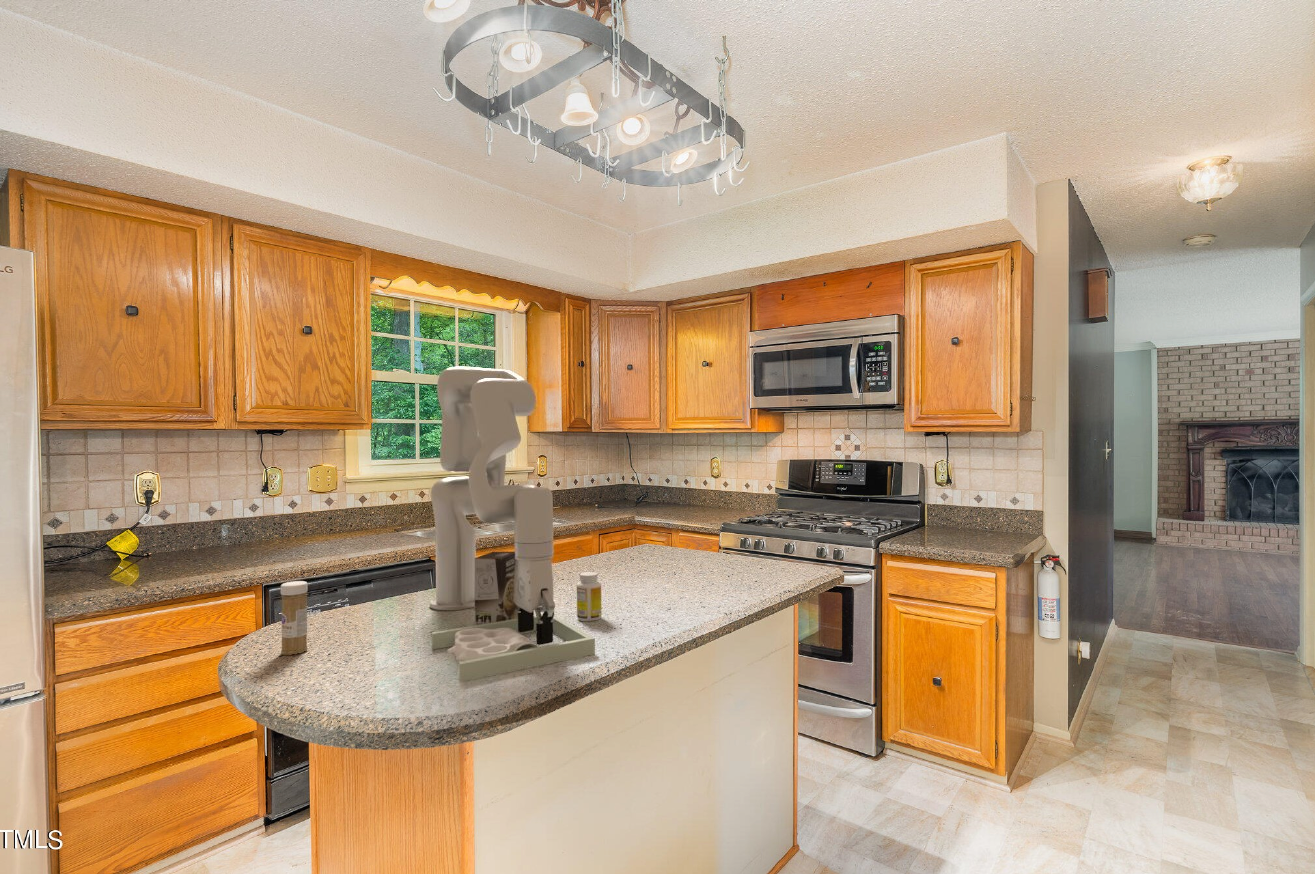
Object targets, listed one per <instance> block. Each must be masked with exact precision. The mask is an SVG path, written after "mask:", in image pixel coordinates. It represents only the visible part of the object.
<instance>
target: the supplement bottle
mask: <svg viewBox="0 0 1315 874" xmlns="http://www.w3.org/2000/svg"><path fill="white" fill-rule="evenodd" d="M602 615H603V614H602V583H601V582H600V581H599V579H598V572H595V571H585V572H581V573H580V574H579V581H578V582H577V584H576V617H577V619H578V621H581V620H582V621H583V622H595V621H597V620H601V618H602ZM594 620H595V621H594ZM582 621H581V622H582Z"/></svg>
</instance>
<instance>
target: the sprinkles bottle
mask: <svg viewBox="0 0 1315 874" xmlns="http://www.w3.org/2000/svg"><path fill="white" fill-rule="evenodd" d="M308 586H309V585H308V582H307V581H304V580H294V581H288V582H284V583H282V584H281V585H280V594H281V655H283V656H293V655H292V654H295V655H298V654H297V653H299V654H303V653H304V651H305V652H306V651H308V643H307V642H308V636H307V635H308V605H307V603H308V602H307V599H308V597H307V594H308V593H307V592H308Z"/></svg>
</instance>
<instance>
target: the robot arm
mask: <svg viewBox="0 0 1315 874" xmlns="http://www.w3.org/2000/svg"><path fill="white" fill-rule="evenodd" d="M436 384H437V385H436V392H437V393H436V394H437V399H438V401H439V402H438V403H439V407H440V410H441V411H440V412H441V430H440V432H441V433H440V446H439V447H440V450H439V453H440V454H439V457H440V458H439V460H440V465H441V467H442V469H443V470H444V471H445V472H448V473H456V474H458V473H459V474H460V473H468V476H467V475H465V476H451V477H445V478H441V479H439V480H437V481H436V482H435V483H434V484H433V485H432V486H431V491H430V499H431V506H432V512H433V518H434V528H435V529H434V530H435V533H434V534H435V598H432V599H431V600H429V607H430V608H431V609H434V610H437V611H438V610H439V611H459V610H460V611H461V610H465V609H471V608H475V558H477V554H476V553H477V552H476V551H477V549H476V548H477V547H476V545H477V544H476V543H477V542H476V541H477V540H476V539H477V538H476V531H475V529H474V526H473V525H472V524H471V523H470V522H469V520H468V519H467V517H466V516H469V515H476V517H477V518H478V519H479V520H480V522H482V523H486V524H500V523H501V524H502V523H507V522H508V523H509V522H514V523H513V524H514V525H513V532H514V533H513V534H514V535H513V537H514V539H513V540H514V552H515V559H516V562H515V572H514V603H515V604H516V605H517V610H518V631H519V632H526V631H532V630H533V629H534V616H536V617H537V620H538V623H537V624H536V631H535V635H536V637H535V638H536V640H535V641H536V642H535V644H537V646H543V645H548V644H551V643H552V644H553V642H554V633H553V621H554V618H553V617H554V615H555V609H556V608H555V607H556V603H555V601H554V577H553V576H554V575H553V566H552V565H553V564H552V558H554V505H553V504H554V503H553V499H554V498H553V492H552V491H551V489H550V488H548V487H543V486H538V485H534V484H531V483H529V484H527V483H526V484H505V480H506V479H505V477H506V476H505V475H506V467H507V466H506V465H507V464H506V463H507V454H508V453H511V452H512V451H514V450H515V449H516V448H518V447H519V445H520V443H521V442H522V441H521V440H522V436H521V433H520V432H521V431H520V429H519V425H518V422H517V418H516V417H529V416H530V415H532V414H533V413H534V411H535V409H536V403H537V399H536V393H535V390H534V388H533V386H532V384H531V383H530V382H529V381H528V380H527V379H525V378H523V377H522V376H520V375H519V374H516V373H515V372H513V371H511V370H507V369H502V368H501V369H500V368H485V367H484V368H483V367H472V366H453V367H448V368H445V369H444V370H442V371H441V372H440V374H439V375H438V379H437V382H436ZM534 612H535V613H534ZM541 615H542V616H541Z"/></svg>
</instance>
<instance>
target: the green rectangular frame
mask: <svg viewBox="0 0 1315 874" xmlns="http://www.w3.org/2000/svg"><path fill="white" fill-rule="evenodd" d="M542 615H543V614H541V616H542ZM553 618H554V621H553V634H554V635H556V636H558V637H559V638H561V639H563V640H564V639H565V640H564V641H563V642H558V643H552V644H551V643H550V644H545V645H540V646H538V647H536V648H530V649H525V650H520V651H514V652H509V653H504V654H499V655H493V656H488V657H483V658H478V659H472V660H467V661H462V662H461V661H459V662H458V681H460V682H461V683H462V682H467V681H472V680H476V679H482V678H486V677H491V676H496V675H501V674H505V673H511V672H515V671H519V670H525V669H530V668H535V667H540V666H545V665H550V664H554V663H558V662H563V661H568V660H573V659H578V658H579V659H580V658H584V657H589V656H593V654H594V655H596V638H595V637H593V636H591V635H590V634H588V633H587V632H584V631H582V630H581V629H579V628H578V627H576V626H574V625H573V624H571V623H569V622H567V621H565V620H564V619H562V618H560V617H558V616H557V615H555V614H554V617H553ZM537 623H538V620H537V617H536V615H534V629H533V630H532V631H526V632H519V631H518V619H512V620H506V621H499V622H493V623H487V624H481V625H475V624H474V625H469V626H464V627H458V628H452V629H444V630H439V631H432V632H431V633H430V634H431V649H432V650H437V649H442V648H443V649H444V648H448V647H453V646H455V634H456V633H457V632H458V631H461V630H464V629H470V628H482V629H498V628H511V629H513V630H515V631H517V633H519V634H520V635H523V634H529V633H533V632H534V631H535V632H536V624H537ZM588 655H589V656H588ZM534 666H535V667H534Z"/></svg>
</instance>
